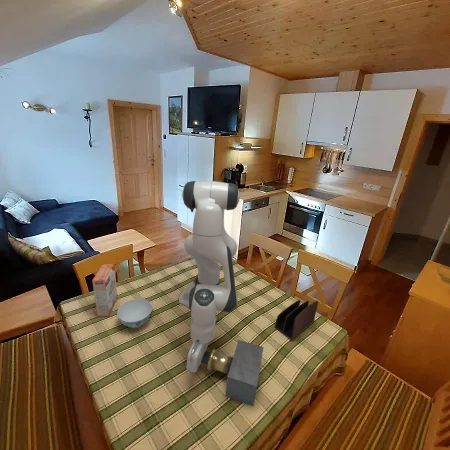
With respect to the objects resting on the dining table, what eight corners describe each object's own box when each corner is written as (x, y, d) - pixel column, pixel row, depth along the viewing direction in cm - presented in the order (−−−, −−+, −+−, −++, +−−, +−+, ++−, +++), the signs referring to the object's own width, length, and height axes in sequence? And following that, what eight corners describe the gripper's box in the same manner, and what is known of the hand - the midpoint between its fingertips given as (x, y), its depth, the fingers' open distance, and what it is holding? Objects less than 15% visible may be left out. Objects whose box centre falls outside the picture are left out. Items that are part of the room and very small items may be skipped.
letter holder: (313, 321, 120) (320, 299, 114) (291, 341, 107) (297, 317, 102) (296, 310, 126) (302, 289, 121) (274, 327, 114) (278, 304, 109)
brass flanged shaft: (189, 368, 90) (190, 354, 87) (197, 352, 96) (197, 339, 94) (227, 381, 86) (229, 367, 83) (232, 364, 93) (234, 351, 90)
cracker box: (110, 316, 112) (105, 280, 105) (96, 317, 112) (90, 280, 104) (118, 297, 125) (114, 263, 118) (106, 297, 124) (101, 263, 117)
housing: (225, 396, 83) (227, 376, 79) (236, 357, 97) (238, 339, 93) (253, 406, 80) (256, 386, 77) (260, 365, 95) (263, 347, 91)
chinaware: (159, 323, 111) (158, 310, 108) (128, 341, 100) (126, 327, 98) (142, 306, 120) (141, 294, 117) (113, 321, 110) (111, 308, 107)
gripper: (199, 357, 76) (198, 386, 81) (219, 314, 94) (216, 340, 100) (182, 351, 77) (181, 380, 83) (204, 310, 96) (203, 335, 101)
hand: (201, 357), depth 91 cm, fingers closed on brass flanged shaft, 3 cm apart
